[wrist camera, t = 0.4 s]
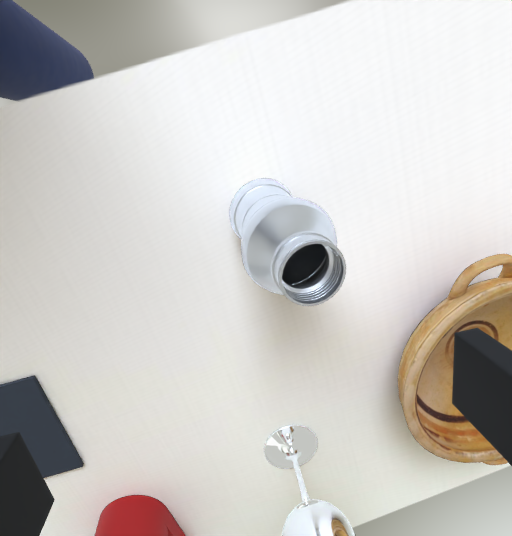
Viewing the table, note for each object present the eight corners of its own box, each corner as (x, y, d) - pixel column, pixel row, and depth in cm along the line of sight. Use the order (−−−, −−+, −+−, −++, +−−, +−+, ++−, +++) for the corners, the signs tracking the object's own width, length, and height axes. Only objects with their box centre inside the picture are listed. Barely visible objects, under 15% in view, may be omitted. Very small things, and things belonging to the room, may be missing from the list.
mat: (-55, 399, 39) (-58, 402, 39) (34, 375, 40) (32, 377, 39) (5, 486, 44) (2, 489, 44) (83, 463, 45) (82, 466, 44)
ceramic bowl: (544, 397, 52) (601, 439, 45) (390, 452, 51) (422, 504, 44) (543, 207, 42) (617, 221, 34) (351, 273, 41) (383, 302, 34)
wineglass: (281, 415, 46) (332, 598, 28) (328, 433, 49) (406, 613, 30) (252, 458, 48) (282, 657, 30) (299, 473, 50) (355, 667, 32)
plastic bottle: (301, 199, 37) (398, 254, 19) (264, 250, 39) (320, 350, 20) (252, 162, 35) (304, 183, 17) (215, 218, 37) (225, 294, 18)
